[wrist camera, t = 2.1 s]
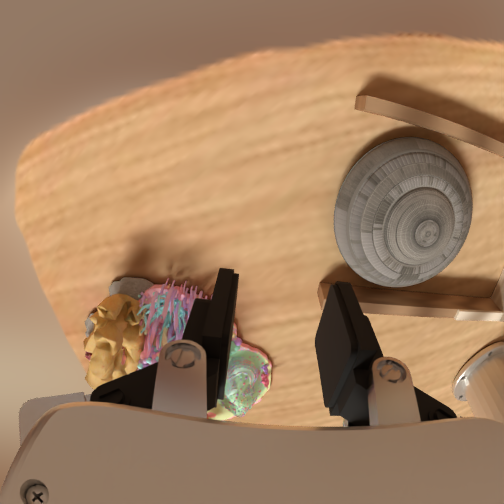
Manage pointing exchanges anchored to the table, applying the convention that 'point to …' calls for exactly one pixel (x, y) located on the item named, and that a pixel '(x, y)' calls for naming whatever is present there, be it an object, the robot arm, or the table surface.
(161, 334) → the candy landscape model
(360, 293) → the bay
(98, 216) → the table surface
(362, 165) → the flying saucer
